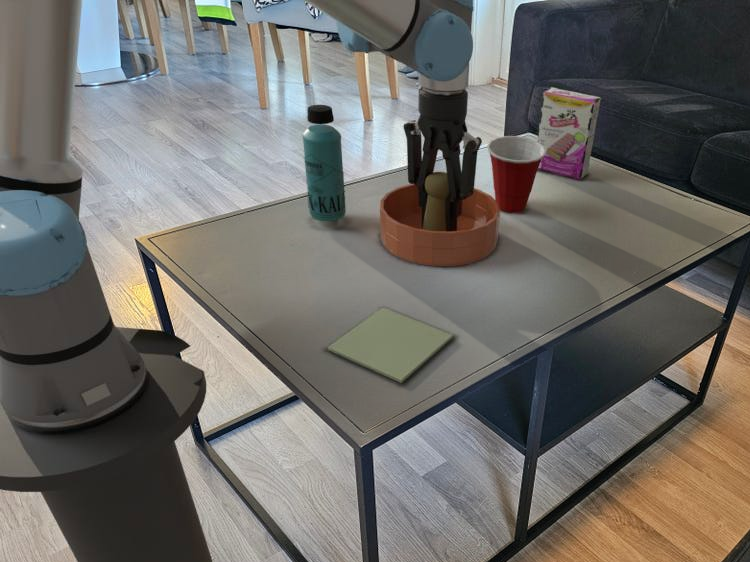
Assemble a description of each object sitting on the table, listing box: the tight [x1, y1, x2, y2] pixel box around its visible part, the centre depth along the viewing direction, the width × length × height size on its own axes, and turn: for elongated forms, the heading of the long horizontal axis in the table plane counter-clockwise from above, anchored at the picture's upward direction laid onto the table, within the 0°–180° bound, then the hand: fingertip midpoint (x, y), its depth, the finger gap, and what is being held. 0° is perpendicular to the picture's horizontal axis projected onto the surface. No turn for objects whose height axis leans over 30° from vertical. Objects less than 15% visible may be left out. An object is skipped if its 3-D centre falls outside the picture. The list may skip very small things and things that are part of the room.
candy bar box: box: [536, 86, 602, 181], centre depth 136 cm, size 11×5×16 cm, turn 65°
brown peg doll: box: [423, 171, 454, 232], centre depth 110 cm, size 6×6×11 cm
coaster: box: [327, 307, 454, 384], centre depth 88 cm, size 12×12×1 cm
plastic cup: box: [486, 135, 546, 214], centre depth 121 cm, size 11×11×12 cm
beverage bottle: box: [301, 104, 347, 222], centre depth 109 cm, size 6×7×20 cm
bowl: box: [379, 183, 501, 267], centre depth 111 cm, size 20×20×6 cm
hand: (439, 228), depth 112 cm, fingers closed on brown peg doll, 4 cm apart
